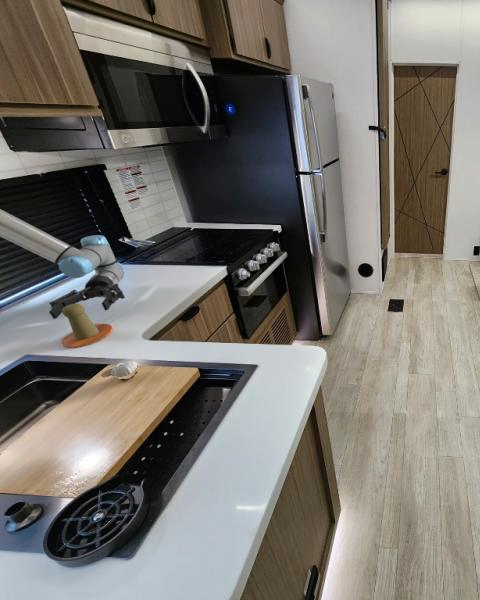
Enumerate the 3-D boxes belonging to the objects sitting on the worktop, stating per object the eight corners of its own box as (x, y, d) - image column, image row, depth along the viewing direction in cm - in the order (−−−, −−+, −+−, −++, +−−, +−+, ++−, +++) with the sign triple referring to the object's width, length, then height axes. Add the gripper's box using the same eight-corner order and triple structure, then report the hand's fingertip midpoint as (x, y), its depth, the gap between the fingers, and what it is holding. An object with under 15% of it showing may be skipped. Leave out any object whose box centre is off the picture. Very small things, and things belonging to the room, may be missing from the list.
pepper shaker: (92, 338, 107) (76, 309, 102) (70, 340, 106) (53, 311, 101) (102, 328, 112) (87, 300, 107) (82, 330, 111) (66, 302, 106)
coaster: (50, 347, 104) (49, 346, 104) (85, 325, 115) (84, 323, 115) (90, 347, 104) (90, 346, 103) (122, 325, 115) (121, 323, 115)
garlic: (119, 387, 88) (111, 372, 86) (112, 378, 91) (104, 364, 89) (145, 374, 92) (137, 360, 90) (137, 367, 95) (130, 353, 93)
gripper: (144, 287, 131) (129, 312, 114) (65, 299, 123) (36, 328, 105) (136, 269, 127) (120, 293, 110) (54, 281, 119) (23, 308, 102)
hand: (79, 310), depth 108 cm, fingers open, 13 cm apart
